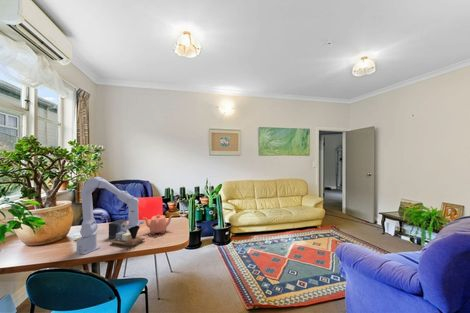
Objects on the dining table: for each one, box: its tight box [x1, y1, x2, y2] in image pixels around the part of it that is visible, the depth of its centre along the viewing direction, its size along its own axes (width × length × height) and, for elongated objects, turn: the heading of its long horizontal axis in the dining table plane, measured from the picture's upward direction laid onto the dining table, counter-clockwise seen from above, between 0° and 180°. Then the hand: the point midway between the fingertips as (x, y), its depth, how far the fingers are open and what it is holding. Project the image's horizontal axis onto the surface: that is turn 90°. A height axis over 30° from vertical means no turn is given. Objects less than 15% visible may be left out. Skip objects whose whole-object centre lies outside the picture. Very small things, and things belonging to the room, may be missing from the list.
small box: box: [108, 219, 128, 240], centre depth 148 cm, size 11×6×10 cm, turn 168°
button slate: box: [116, 231, 127, 240], centre depth 138 cm, size 4×4×4 cm
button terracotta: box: [128, 236, 140, 245], centre depth 134 cm, size 4×4×4 cm
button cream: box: [122, 231, 132, 241], centre depth 136 cm, size 4×4×4 cm
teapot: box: [142, 214, 174, 236], centre depth 155 cm, size 15×17×13 cm
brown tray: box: [109, 236, 146, 250], centre depth 136 cm, size 11×18×2 cm, turn 69°
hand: (133, 238), depth 134 cm, fingers closed, pressing on button terracotta
